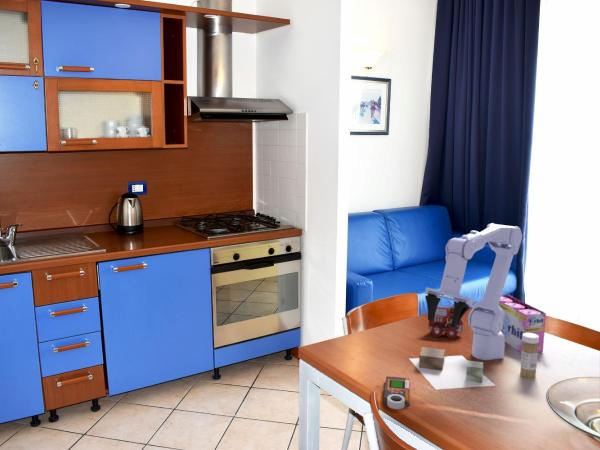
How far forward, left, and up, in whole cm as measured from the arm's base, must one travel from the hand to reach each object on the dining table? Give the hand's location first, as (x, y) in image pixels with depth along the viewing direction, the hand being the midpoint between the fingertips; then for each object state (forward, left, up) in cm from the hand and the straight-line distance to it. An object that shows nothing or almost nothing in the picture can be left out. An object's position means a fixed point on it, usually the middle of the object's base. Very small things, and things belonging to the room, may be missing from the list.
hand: (441, 323), depth 162 cm
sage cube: (-10, +3, -16) cm, 19 cm away
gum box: (-39, -26, -18) cm, 50 cm away
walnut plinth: (-1, -9, -16) cm, 19 cm away
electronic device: (+16, +8, -18) cm, 25 cm away
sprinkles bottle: (-27, +3, -18) cm, 32 cm away
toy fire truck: (-17, -35, -18) cm, 43 cm away
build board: (-5, -3, -17) cm, 18 cm away
